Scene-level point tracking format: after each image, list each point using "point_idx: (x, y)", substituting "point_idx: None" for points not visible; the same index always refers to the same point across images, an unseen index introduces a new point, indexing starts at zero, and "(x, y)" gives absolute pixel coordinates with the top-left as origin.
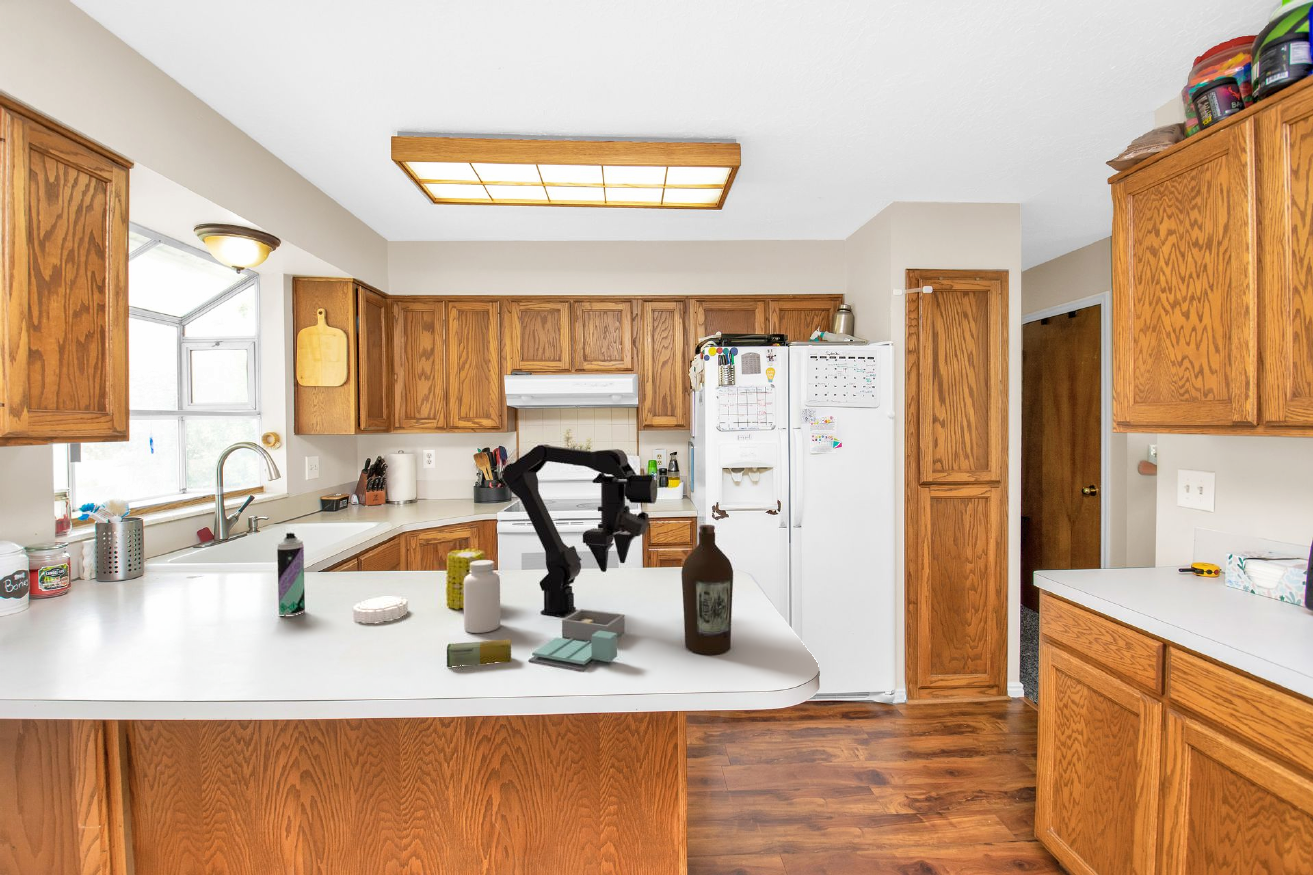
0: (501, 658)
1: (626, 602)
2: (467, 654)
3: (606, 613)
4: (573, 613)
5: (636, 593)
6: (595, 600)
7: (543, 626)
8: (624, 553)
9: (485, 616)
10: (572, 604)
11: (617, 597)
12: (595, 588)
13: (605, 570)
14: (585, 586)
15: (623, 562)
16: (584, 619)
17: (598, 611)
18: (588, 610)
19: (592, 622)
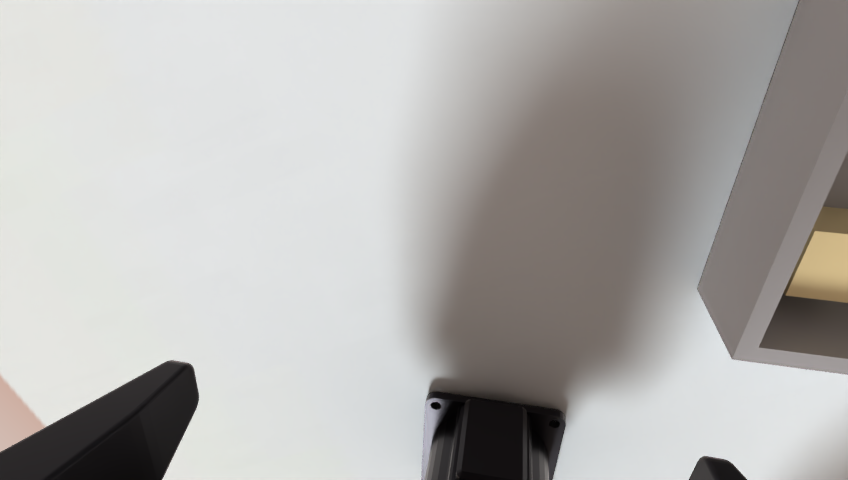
0: None
1: (206, 192)
2: None
3: (842, 158)
4: (845, 372)
5: (36, 192)
6: (261, 350)
7: (716, 442)
8: (90, 470)
9: None
10: (482, 422)
11: (159, 267)
12: None
13: (739, 473)
14: None
15: (188, 373)
16: (805, 286)
17: (790, 234)
18: (765, 306)
19: (822, 225)
